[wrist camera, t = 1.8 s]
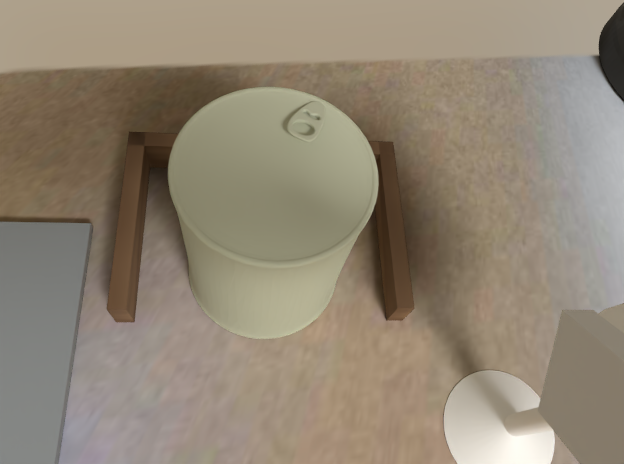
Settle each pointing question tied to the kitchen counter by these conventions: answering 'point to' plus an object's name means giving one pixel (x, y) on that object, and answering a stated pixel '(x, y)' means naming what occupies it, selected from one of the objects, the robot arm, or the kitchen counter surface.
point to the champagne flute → (502, 417)
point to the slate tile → (38, 333)
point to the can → (269, 206)
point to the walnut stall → (156, 153)
